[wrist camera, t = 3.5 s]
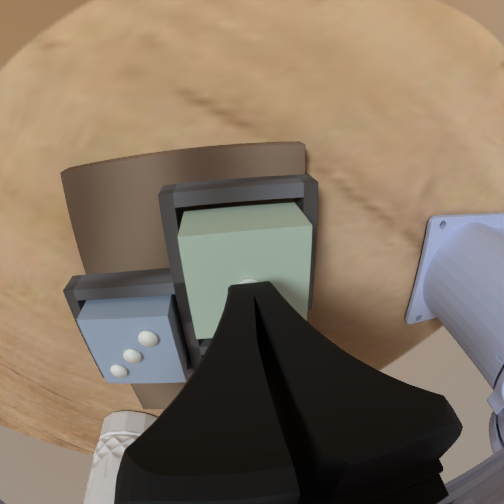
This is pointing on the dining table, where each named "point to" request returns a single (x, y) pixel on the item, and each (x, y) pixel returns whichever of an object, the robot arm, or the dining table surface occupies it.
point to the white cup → (113, 453)
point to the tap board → (170, 223)
